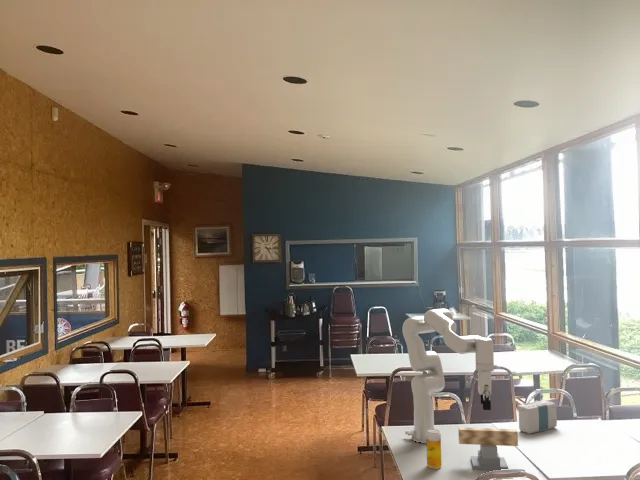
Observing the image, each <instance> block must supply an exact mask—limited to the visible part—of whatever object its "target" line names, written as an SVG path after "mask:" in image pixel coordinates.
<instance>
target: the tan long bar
mask: <svg viewBox="0 0 640 480" xmlns="http://www.w3.org/2000/svg"><path fill="white" fill-rule="evenodd" d="M457 431H458V444H459V445H478V446H480V445H496V446H499V447H500V446H504V447H505V446H507V447H518V446H519V441H518V440H519V439H518V430H517V429H516V428H493V427H492V428H491V427H490V428H488V427H463V426H462V427H461V426H460V427H458V430H457Z"/></svg>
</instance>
